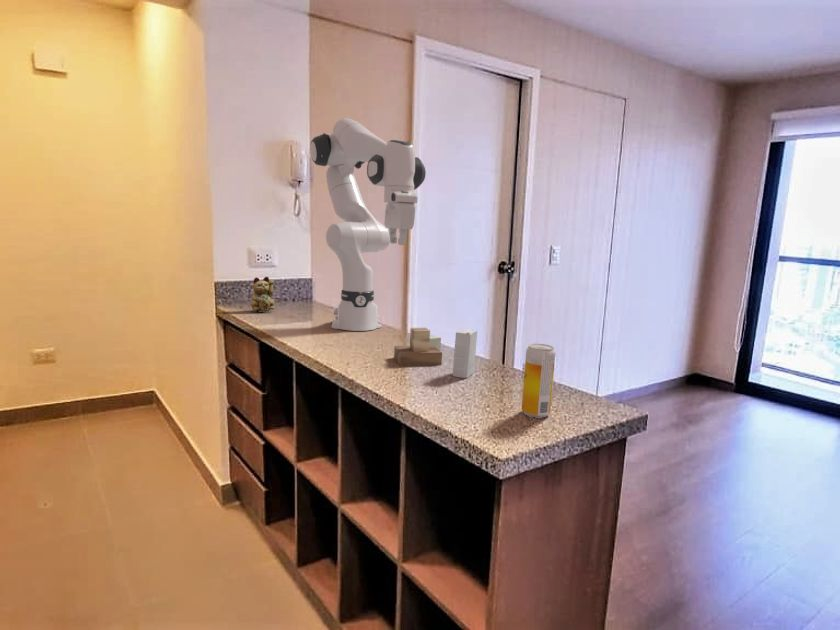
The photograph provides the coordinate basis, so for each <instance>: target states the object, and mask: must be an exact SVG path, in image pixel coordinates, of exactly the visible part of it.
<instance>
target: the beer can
mask: <svg viewBox="0 0 840 630" xmlns="http://www.w3.org/2000/svg"><path fill="white" fill-rule="evenodd" d="M555 363H556V350H555V347H554V346H553V345H549V344H543V343H530V344H528V346H527V348H526V350H525V362H524V373H523V374H524V375H523V387H522V397H521V398H522V399H521V412H523V415H525V416H526V415H527V416H526V417H529V418H533V417H535V418H534V419H543V418H542V417H545V418H547V417H548V415H549V414H550V413H551V410H552V408H551V407H552V397H553V396H552V394H553V386H554V385H553V383H554V376H555V375H554V373H555V365H556V364H555ZM546 416H547V417H546Z"/></svg>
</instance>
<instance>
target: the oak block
mask: <svg viewBox="0 0 840 630" xmlns="http://www.w3.org/2000/svg"><path fill="white" fill-rule="evenodd" d="M409 332H410V333H409V335H410V336H409V346H410V349H412V350H413V351H414V352H416V351H429V341H430V335H431V330H430V329H428V328H426V327H410V331H409Z"/></svg>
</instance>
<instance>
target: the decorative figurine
mask: <svg viewBox="0 0 840 630" xmlns="http://www.w3.org/2000/svg"><path fill="white" fill-rule="evenodd" d="M274 284H275V281H274V280H273V279H270V278H269V277H268V276H264V277H263V279H262V280H260V278H259V277H255V278H253V284H252V289H253V293H252V294H251V297H250V298H251V301H250V306H251V309H252V310H254V311H256V312H257V311H258V312H268V313H271V310H274V309H275V300H274V299H272V298H271V297H272V296H273V294H274V286H273V285H274ZM258 312H257V313H258Z"/></svg>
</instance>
